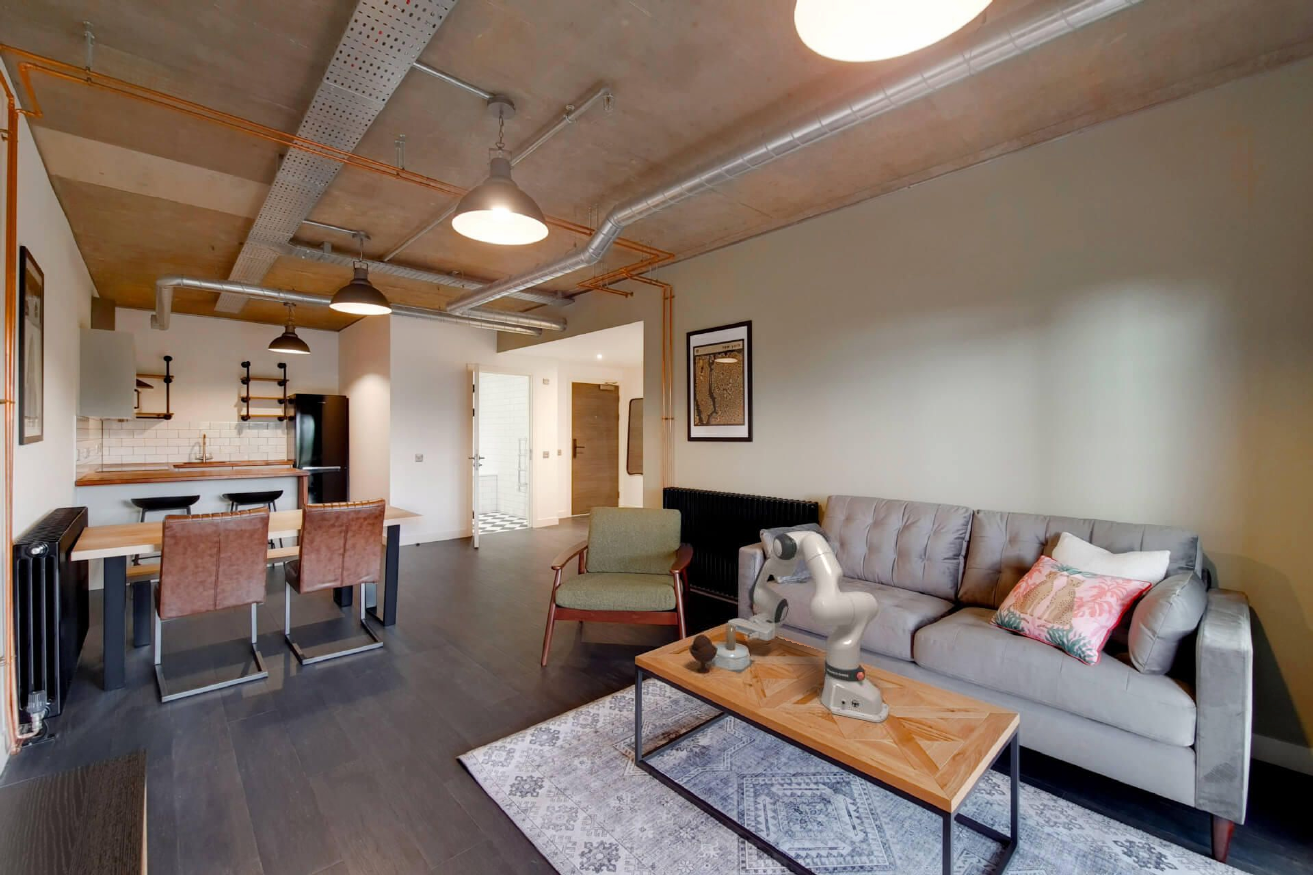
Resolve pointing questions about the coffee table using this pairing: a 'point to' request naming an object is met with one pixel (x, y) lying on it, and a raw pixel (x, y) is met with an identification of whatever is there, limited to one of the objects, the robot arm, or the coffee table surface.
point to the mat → (732, 670)
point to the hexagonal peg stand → (731, 652)
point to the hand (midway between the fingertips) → (739, 633)
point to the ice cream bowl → (703, 652)
